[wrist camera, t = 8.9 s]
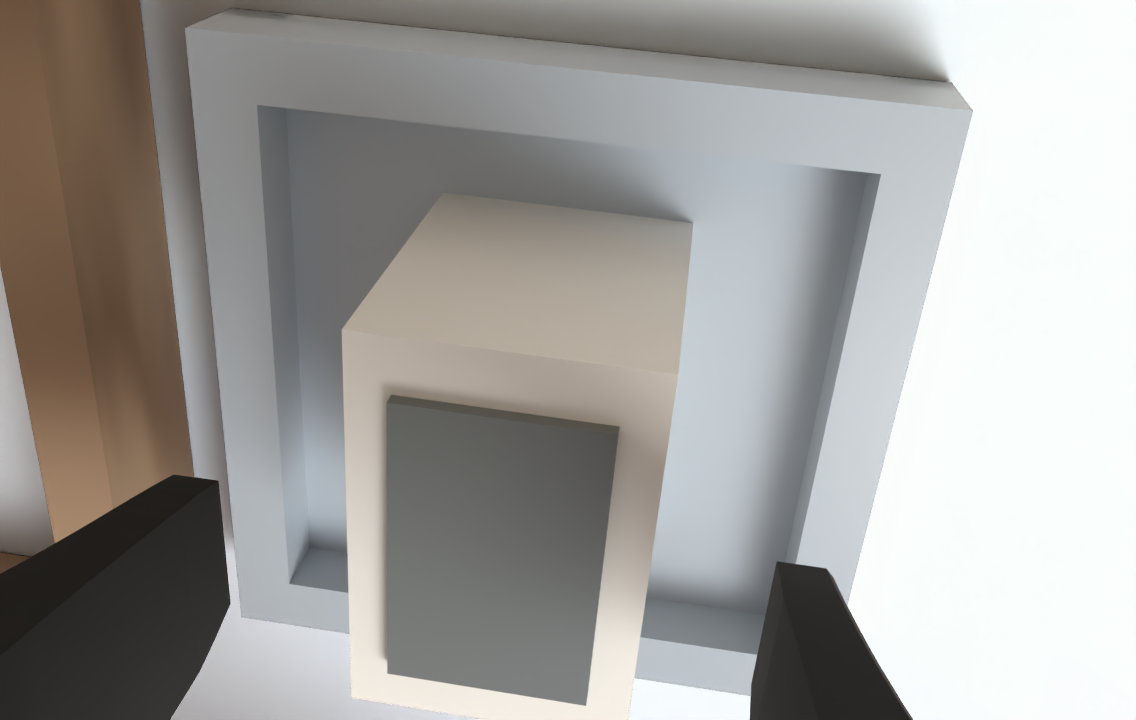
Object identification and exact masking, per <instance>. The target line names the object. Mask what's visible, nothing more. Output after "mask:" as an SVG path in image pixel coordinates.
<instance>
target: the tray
mask: <svg viewBox="0 0 1136 720" xmlns="http://www.w3.org/2000/svg"><path fill="white" fill-rule="evenodd" d="M185 36H186V47H187V57H188V68H189V78H190V88H191V99H192V109H193V120H194V130H195V140H196V151H197V161H198V172H199V182H200V192H201V203H202V213H203V224H204V234H205V244H206V255H207V265H208V275H209V286H210V296H211V307H212V317H213V327H214V338H215V348H216V359H217V369H218V379H219V390H220V400H221V411H222V421H223V431H224V442H225V452H226V463H227V473H228V483H229V494H230V504H231V515H232V525H233V535H234V546H235V556H236V567H237V577H238V587H239V598H240V608H241V617H245V618H251V619H258V620H264V621H271V622H277V623H284V624H290V625H296V626H303V627H309V628H316V629H322V630H329V631H335V632H342V633H348V634H350V632H349V593H348V554H347V516H346V477H345V438H344V400H343V361H342V328H343V327H344V326H345V324H346V323H347V322H348V320H349V319H350V318H351V316H352V315H353V314H354V312H355V311H356V309H357V308H358V307H359V305H360V304H361V303H362V301H363V300H364V299H365V297H366V296H367V295H368V293H369V292H370V291H371V289H372V288H373V286H374V285H375V284H376V282H377V281H378V280H379V278H380V277H381V276H382V274H383V273H384V272H385V270H386V269H387V268H388V266H389V265H390V263H391V262H392V261H393V259H394V258H395V257H396V255H397V254H398V253H399V251H400V250H401V249H402V247H403V246H404V245H405V243H406V242H407V240H408V239H409V238H410V236H411V235H412V234H413V232H414V231H415V230H416V228H417V227H418V226H419V224H420V223H421V222H422V220H423V219H424V217H425V216H426V215H427V213H428V212H429V211H430V209H431V208H432V207H433V205H434V204H435V203H436V201H437V200H438V199H439V197H440V196H441V194H442V193H443V192H445V193H453V194H461V195H469V196H478V197H486V198H494V199H502V200H510V201H518V202H526V203H535V204H543V205H551V206H559V207H567V208H575V209H583V210H592V211H600V212H608V213H616V214H624V215H632V216H640V217H649V218H657V219H665V220H673V221H681V222H689V223H693V233H692V243H691V253H690V263H689V273H688V284H687V294H686V304H685V314H684V324H683V334H682V344H681V354H680V364H679V374H678V381H677V388H676V395H675V402H674V409H673V415H672V422H671V429H670V436H669V443H668V450H667V457H666V463H665V470H664V477H663V484H662V491H661V498H660V505H659V512H658V518H657V525H656V532H655V539H654V546H653V553H652V560H651V567H650V573H649V580H648V587H647V594H646V601H645V608H644V615H643V622H642V628H641V635H640V642H639V649H638V656H637V663H636V670H635V677H634V678H638V679H644V680H651V681H657V682H664V683H670V684H677V685H683V686H689V687H696V688H702V689H709V690H715V691H722V692H728V693H735V694H741V695H747V696H751V683H752V678H753V673H754V668H755V663H756V658H757V654H758V649H759V644H760V639H761V634H762V630H763V625H764V620H765V615H766V610H767V605H768V601H769V596H770V591H771V586H772V581H773V576H774V572H775V567H776V562H777V561H779V562H786V563H793V564H800V565H806V566H813V567H820V568H827V570H828V571H829V572H830V574H831V575H832V576H833V577H834V580H835V582H836V584H837V586H838V588H839V590H840V592H841V594H842V596H843V599H844V601H845V603H846V605H847V604H848V600H849V596H850V592H851V588H852V584H853V580H854V576H855V572H856V568H857V564H858V561H859V557H860V553H861V549H862V545H863V541H864V537H865V533H866V529H867V525H868V521H869V517H870V513H871V509H872V506H873V502H874V498H875V494H876V490H877V486H878V482H879V478H880V474H881V470H882V466H883V462H884V458H885V454H886V450H887V447H888V443H889V439H890V435H891V431H892V427H893V423H894V419H895V415H896V411H897V407H898V403H899V399H900V395H901V391H902V388H903V384H904V380H905V376H906V372H907V368H908V364H909V360H910V356H911V352H912V348H913V344H914V340H915V336H916V333H917V329H918V325H919V321H920V317H921V313H922V309H923V305H924V301H925V297H926V293H927V289H928V285H929V281H930V277H931V274H932V270H933V266H934V262H935V258H936V254H937V250H938V246H939V242H940V238H941V234H942V230H943V226H944V222H945V218H946V215H947V211H948V207H949V203H950V199H951V195H952V191H953V187H954V183H955V179H956V175H957V171H958V167H959V163H960V160H961V156H962V152H963V148H964V144H965V140H966V136H967V132H968V128H969V124H970V120H971V116H972V112H973V110H972V109H971V108H970V106H969V105H968V104H967V102H966V101H965V100H964V98H963V97H962V96H961V94H960V93H959V92H958V90H957V89H956V88H955V86H954V85H953V84H952V83H951V82H941V81H932V80H922V79H912V78H902V77H893V76H883V75H873V74H864V73H854V72H844V71H835V70H825V69H815V68H806V67H796V66H786V65H777V64H767V63H757V62H747V61H738V60H728V59H718V58H709V57H699V56H689V55H680V54H670V53H660V52H651V51H641V50H631V49H622V48H612V47H602V46H593V45H583V44H573V43H563V42H554V41H544V40H534V39H525V38H515V37H505V36H496V35H486V34H476V33H467V32H457V31H447V30H438V29H428V28H418V27H409V26H399V25H389V24H379V23H370V22H360V21H350V20H341V19H331V18H321V17H312V16H302V15H292V14H283V13H273V12H263V11H254V10H244V9H234V8H230V9H228V10H226V11H223V12H221V13H218V14H216V15H214V16H211V17H209V18H207V19H204V20H202V21H199V22H197V23H195V24H192V25H190V26H188V27H185Z"/></svg>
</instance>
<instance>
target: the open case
mask: <svg viewBox="0 0 1136 720" xmlns="http://www.w3.org/2000/svg"><path fill="white" fill-rule="evenodd" d="M0 266H1V272H2V277H3V282H4V287H5V292H6V297H7V302H8V307H9V312H10V317H11V322H12V328H13V333H14V338H15V343H16V348H17V353H18V358H19V363H20V368H21V373H22V378H23V384H24V389H25V394H26V399H27V404H28V409H29V414H30V419H31V424H32V429H33V435H34V440H35V445H36V450H37V455H38V460H39V465H40V470H41V475H42V480H43V485H44V491H45V496H46V501H47V506H48V511H49V516H50V521H51V526H52V531H53V536H54V542H55V543H57V542H58V541H60V540H62V539H63V538H65V537H67V536H69V535H70V534H72V533H74V532H75V531H77V530H79V529H80V528H82V527H84V526H86V525H87V524H89V523H91V522H92V521H94V520H96V519H97V518H99V517H101V516H102V515H104V514H106V513H107V512H109V511H111V510H112V509H114V508H116V507H117V506H119V505H121V504H122V503H124V502H126V501H127V500H129V499H131V498H133V497H134V496H136V495H138V494H139V493H141V492H143V491H144V490H146V489H148V488H150V487H151V486H153V485H155V484H157V483H159V482H160V481H162V480H164V479H166V478H168V477H170V476H172V475H181V476H188V477H194V472H193V464H192V455H191V446H190V437H189V429H188V420H187V411H186V402H185V394H184V385H183V376H182V367H181V359H180V350H179V341H178V333H177V324H176V315H175V306H174V298H173V289H172V280H171V271H170V263H169V254H168V245H167V236H166V228H165V219H164V210H163V201H162V193H161V184H160V175H159V166H158V158H157V149H156V140H155V132H154V123H153V114H152V105H151V97H150V88H149V79H148V70H147V62H146V53H145V44H144V35H143V27H142V18H141V9H140V0H0ZM29 558H31V557H27V556H20V555H13V554H7V553H0V574H1V573H3V572H4V571H6V570H8V569H10V568H12V567H14V566H16V565H17V564H19V563H21V562H23V561H25V560H27V559H29Z"/></svg>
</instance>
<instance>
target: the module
mask: <svg viewBox="0 0 1136 720" xmlns="http://www.w3.org/2000/svg"><path fill="white" fill-rule="evenodd" d="M692 233H693V223H689V222H681V221H673V220H665V219H657V218H649V217H640V216H632V215H624V214H616V213H608V212H600V211H592V210H583V209H575V208H567V207H559V206H551V205H543V204H535V203H526V202H518V201H510V200H502V199H494V198H486V197H478V196H469V195H461V194H453V193H445V192H443V193H442V194H441V196H440V197H439V199H438V200H437V201H436V203H435V204H434V205H433V207H432V208H431V209H430V211H429V212H428V213H427V215H426V216H425V217H424V219H423V220H422V222H421V223H420V224H419V226H418V227H417V228H416V230H415V231H414V232H413V234H412V235H411V236H410V238H409V239H408V240H407V242H406V243H405V245H404V246H403V247H402V249H401V250H400V251H399V253H398V254H397V255H396V257H395V258H394V259H393V261H392V262H391V263H390V265H389V266H388V268H387V269H386V270H385V272H384V273H383V274H382V276H381V277H380V278H379V280H378V281H377V282H376V284H375V285H374V286H373V288H372V289H371V291H370V292H369V293H368V295H367V296H366V297H365V299H364V300H363V301H362V303H361V304H360V305H359V307H358V308H357V309H356V311H355V312H354V314H353V315H352V316H351V318H350V319H349V320H348V322H347V323H346V324H345V326H344V327H343V328H342V361H343V400H344V438H345V477H346V516H347V554H348V593H349V632H350V670H351V698H355V699H361V700H367V701H373V702H380V703H386V704H392V705H398V706H404V707H410V708H416V709H422V710H428V711H434V712H440V713H446V714H452V715H458V716H464V717H470V718H476V719H482V720H628V718H629V711H630V704H631V697H632V690H633V683H634V677H635V670H636V663H637V656H638V649H639V642H640V635H641V628H642V622H643V615H644V608H645V601H646V594H647V587H648V580H649V573H650V567H651V560H652V553H653V546H654V539H655V532H656V525H657V518H658V512H659V505H660V498H661V491H662V484H663V477H664V470H665V463H666V457H667V450H668V443H669V436H670V429H671V422H672V415H673V409H674V402H675V395H676V388H677V381H678V374H679V364H680V354H681V344H682V334H683V324H684V314H685V304H686V294H687V284H688V273H689V263H690V253H691V243H692Z"/></svg>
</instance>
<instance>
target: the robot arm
mask: <svg viewBox="0 0 1136 720" xmlns="http://www.w3.org/2000/svg"><path fill="white" fill-rule="evenodd" d="M229 606H230V595H229V584H228V574H227V564H226V554H225V544H224V533H223V523H222V513H221V503H220V493H219V483H218V481H216V480H209V479H202V478H195V477H188V476H181V475H172V476H170V477H168V478H166V479H164V480H162V481H160V482H159V483H157V484H155V485H153V486H151V487H150V488H148V489H146V490H144V491H143V492H141V493H139V494H138V495H136V496H134V497H133V498H131V499H129V500H127V501H126V502H124V503H122V504H121V505H119V506H117V507H116V508H114V509H112V510H111V511H109V512H107V513H106V514H104V515H102V516H101V517H99V518H97V519H96V520H94V521H92V522H91V523H89V524H87V525H86V526H84V527H82V528H80V529H79V530H77V531H75V532H74V533H72V534H70V535H69V536H67V537H65V538H63V539H62V540H60V541H58V542H57V543H55V544H53V545H51V546H50V547H48V548H46V549H45V550H43V551H41V552H39V553H38V554H36V555H34V556H32V557H31V558H29V559H27V560H25V561H23V562H21V563H19V564H17V565H16V566H14V567H12V568H10V569H8V570H6V571H4V572H3V573H1V574H0V720H170V719H171V717H172V715H173V714H174V712H175V711H176V709H177V707H178V706H179V704H180V703H181V701H182V699H183V698H184V696H185V694H186V693H187V691H188V690H189V688H190V686H191V685H192V683H193V681H194V680H195V678H196V676H197V675H198V673H199V672H200V669H201V667H202V665H203V663H204V661H205V659H206V657H207V655H208V653H209V650H210V648H211V646H212V644H213V642H214V640H215V638H216V635H217V633H218V631H219V628H220V626H221V624H222V622H223V619H224V617H225V615H226V612H227V610H228V608H229ZM750 720H913V719H912V717H911V716H910V714H909V713H908V711H907V710H906V708H905V706H904V705H903V703H902V702H901V700H900V698H899V697H898V695H897V693H896V692H895V690H894V689H893V687H892V685H891V684H890V682H889V680H888V679H887V677H886V675H885V674H884V672H883V671H882V669H881V667H880V666H879V664H878V662H877V660H876V659H875V657H874V655H873V653H872V652H871V650H870V648H869V646H868V644H867V643H866V641H865V639H864V637H863V635H862V633H861V632H860V630H859V628H858V626H857V624H856V622H855V620H854V618H853V616H852V614H851V613H850V611H849V609H848V607H847V605H846V603H845V601H844V599H843V596H842V594H841V592H840V590H839V588H838V586H837V584H836V582H835V580H834V577H833V576H832V575H831V574H830V572H829V571H828V570H827V568H820V567H813V566H806V565H800V564H793V563H786V562H779V561H777V562H776V567H775V572H774V576H773V581H772V586H771V591H770V596H769V601H768V605H767V610H766V615H765V620H764V625H763V630H762V634H761V639H760V644H759V649H758V654H757V658H756V663H755V668H754V673H753V678H752V683H751V705H750Z"/></svg>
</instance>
